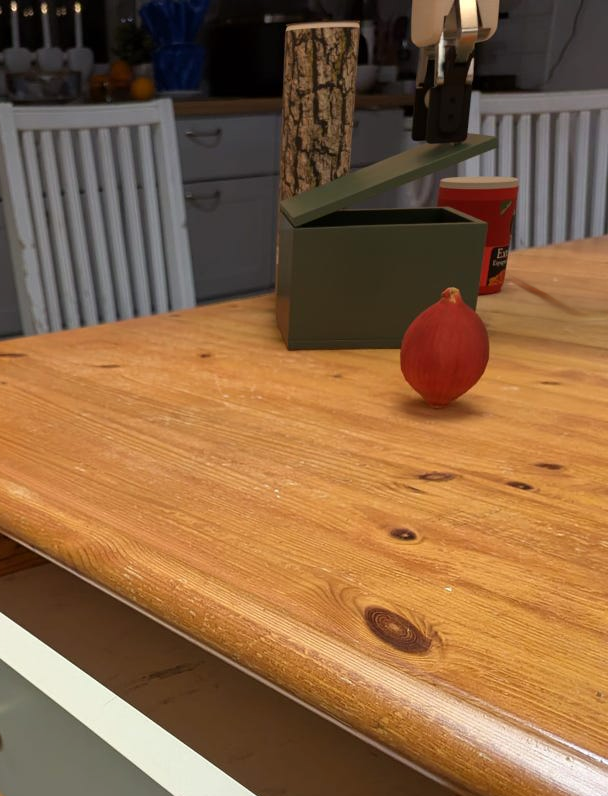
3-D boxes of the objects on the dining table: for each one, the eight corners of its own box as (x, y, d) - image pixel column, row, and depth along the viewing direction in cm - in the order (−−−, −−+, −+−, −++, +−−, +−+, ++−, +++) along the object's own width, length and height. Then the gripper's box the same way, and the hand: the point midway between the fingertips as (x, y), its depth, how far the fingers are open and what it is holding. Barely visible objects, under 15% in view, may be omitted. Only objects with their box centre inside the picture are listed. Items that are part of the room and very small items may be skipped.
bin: (435, 315, 94) (449, 206, 89) (471, 346, 82) (488, 223, 77) (275, 319, 95) (280, 211, 90) (287, 350, 83) (293, 228, 78)
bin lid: (457, 140, 86) (445, 78, 84) (499, 147, 75) (486, 74, 72) (281, 210, 90) (265, 152, 88) (295, 227, 78) (276, 161, 76)
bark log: (333, 311, 97) (354, 19, 85) (267, 309, 99) (278, 23, 87) (344, 299, 103) (365, 23, 90) (282, 297, 105) (294, 27, 92)
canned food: (503, 296, 101) (520, 181, 96) (424, 294, 104) (437, 182, 98) (503, 284, 108) (519, 175, 102) (429, 282, 110) (441, 176, 105)
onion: (396, 394, 70) (409, 278, 66) (480, 398, 68) (497, 280, 64) (392, 417, 65) (405, 293, 61) (481, 421, 63) (500, 295, 60)
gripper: (550, -163, 64) (513, 142, 73) (482, -114, 79) (458, 135, 88) (435, -153, 65) (412, 149, 73) (390, -106, 79) (375, 140, 88)
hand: (438, 138), depth 80 cm, fingers closed on bin lid, 5 cm apart
